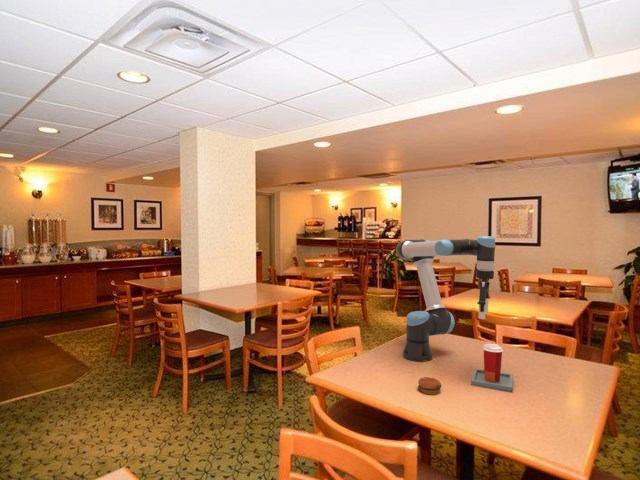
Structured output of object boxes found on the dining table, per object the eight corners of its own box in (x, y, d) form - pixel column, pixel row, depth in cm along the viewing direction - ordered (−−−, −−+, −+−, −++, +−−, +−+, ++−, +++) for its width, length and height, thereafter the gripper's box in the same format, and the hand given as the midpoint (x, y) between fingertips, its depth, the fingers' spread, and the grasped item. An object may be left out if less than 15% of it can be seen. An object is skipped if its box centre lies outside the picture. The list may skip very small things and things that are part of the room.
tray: (474, 372, 179) (474, 368, 179) (512, 378, 172) (512, 374, 172) (471, 385, 165) (471, 380, 165) (512, 392, 157) (512, 387, 157)
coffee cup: (498, 376, 172) (498, 343, 172) (505, 383, 164) (506, 349, 164) (479, 375, 173) (479, 343, 173) (485, 383, 165) (486, 348, 164)
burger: (433, 397, 153) (433, 386, 153) (413, 390, 160) (413, 379, 160) (445, 390, 160) (445, 379, 160) (425, 384, 167) (425, 373, 166)
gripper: (479, 266, 188) (477, 308, 189) (473, 272, 166) (471, 320, 167) (495, 267, 184) (494, 310, 186) (491, 273, 162) (490, 322, 164)
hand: (483, 315), depth 176 cm, fingers open, 13 cm apart
